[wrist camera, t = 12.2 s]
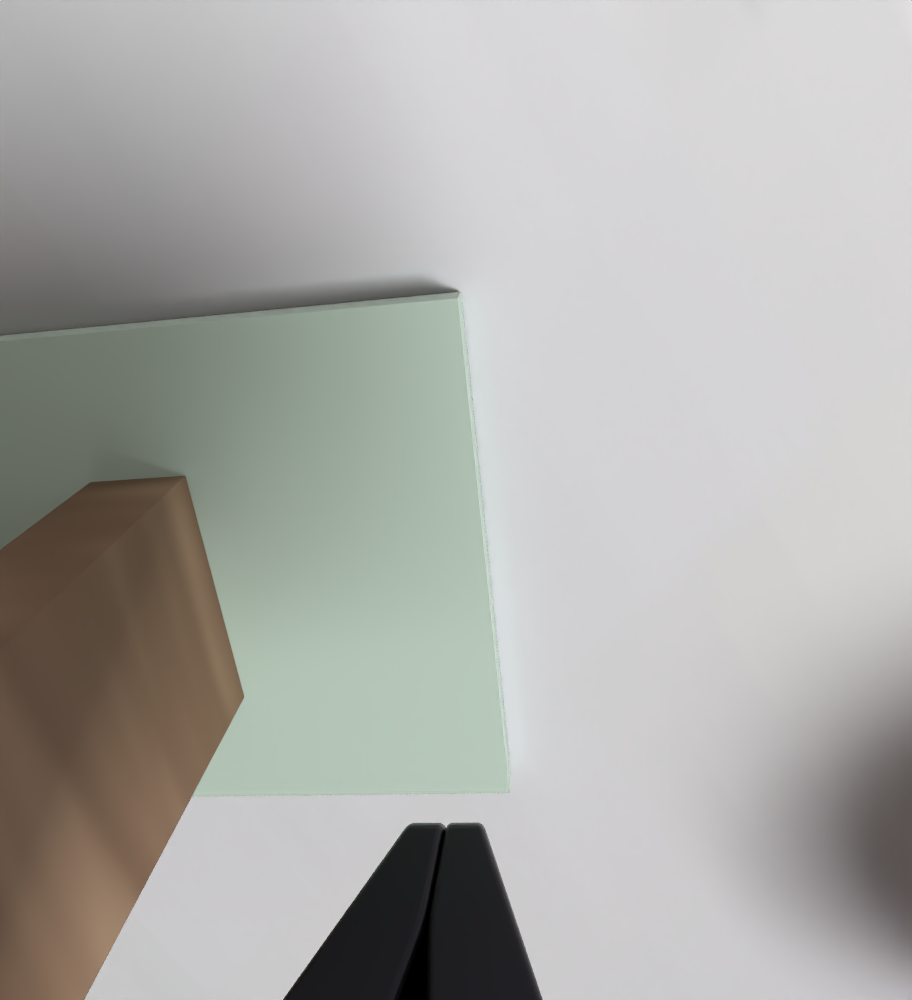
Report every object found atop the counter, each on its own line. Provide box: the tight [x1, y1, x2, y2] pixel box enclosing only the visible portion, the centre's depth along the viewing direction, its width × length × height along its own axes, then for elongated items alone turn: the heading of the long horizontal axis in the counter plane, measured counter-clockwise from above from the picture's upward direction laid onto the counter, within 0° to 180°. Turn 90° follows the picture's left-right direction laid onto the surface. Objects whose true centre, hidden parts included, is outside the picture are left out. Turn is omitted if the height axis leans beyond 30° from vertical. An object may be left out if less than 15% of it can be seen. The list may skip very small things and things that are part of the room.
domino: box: [0, 476, 244, 1000], centre depth 10 cm, size 2×5×10 cm, turn 6°
